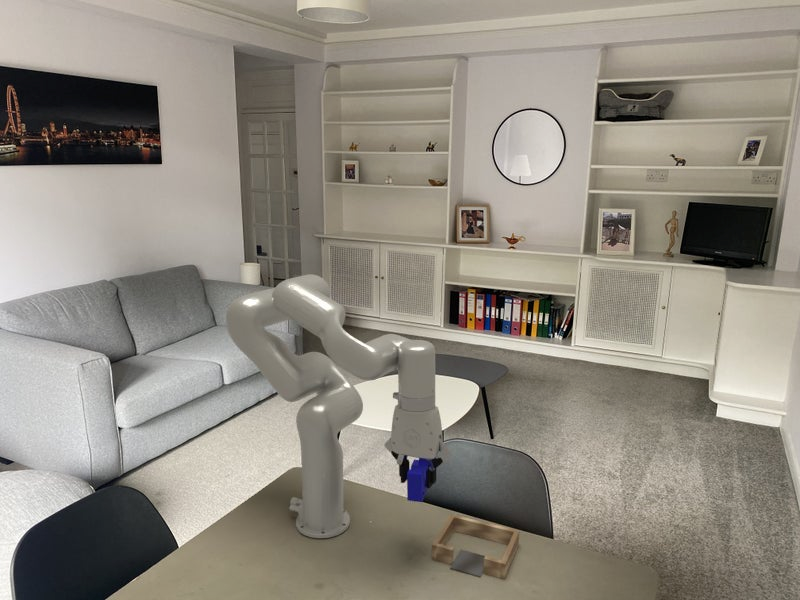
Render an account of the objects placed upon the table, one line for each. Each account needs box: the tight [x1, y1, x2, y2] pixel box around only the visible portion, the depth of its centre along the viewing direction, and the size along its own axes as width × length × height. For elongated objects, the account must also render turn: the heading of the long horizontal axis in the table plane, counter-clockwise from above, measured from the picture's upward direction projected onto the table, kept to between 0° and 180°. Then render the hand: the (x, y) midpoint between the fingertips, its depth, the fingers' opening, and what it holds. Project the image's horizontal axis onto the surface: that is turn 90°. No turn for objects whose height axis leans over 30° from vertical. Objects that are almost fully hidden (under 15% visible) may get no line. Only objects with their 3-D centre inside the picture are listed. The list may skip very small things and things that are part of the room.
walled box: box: [431, 514, 520, 580], centre depth 135 cm, size 16×14×4 cm
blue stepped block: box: [406, 458, 429, 503], centre depth 130 cm, size 12×4×6 cm, turn 165°
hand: (417, 481), depth 130 cm, fingers closed on blue stepped block, 5 cm apart
